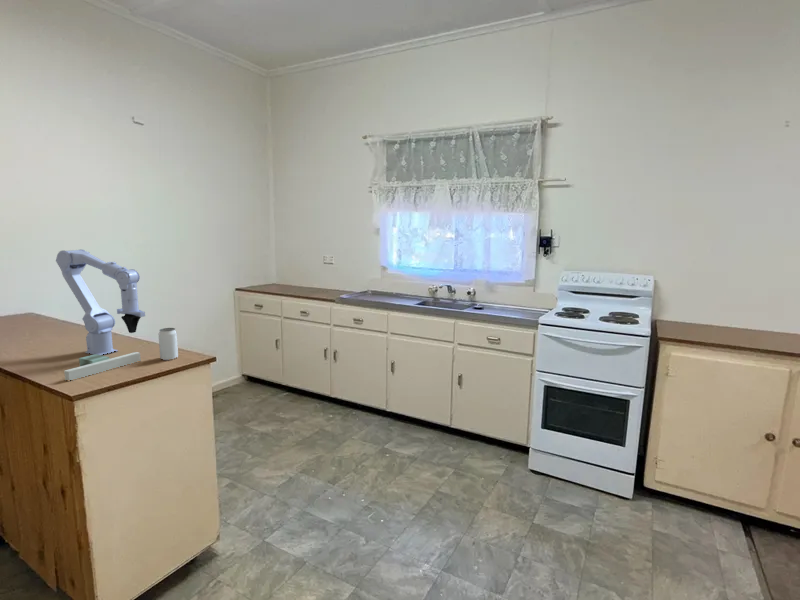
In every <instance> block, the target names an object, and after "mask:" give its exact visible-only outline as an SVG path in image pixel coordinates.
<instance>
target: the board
mask: <svg viewBox="0 0 800 600" xmlns="http://www.w3.org/2000/svg"><path fill="white" fill-rule="evenodd" d="M141 358H142V357H141V352H138V351H136V352H135V351H133V352H131V353H127V354H123V355H120V356H119V355H118V356H116V357H112V358H109V359H107V360H103V361H100V362H96V363H92V364H88V365H84V366H80V365H79V366H77V367H73V368H69V369H65V370H63V371H64V373H63V374H64V380H65V381H66V380H73V379H77V378H80V379H82V378H81V377H84V378H86V377H85V376H87V377H89V376H88V375H91V376H93V375H92V374H94V375H97V374H96V373H98V374H100V373H99V372H102V373H104V372H103V371H105V372H107V371H106V370H109V369H112V368H116V367H119V368H121V367H120V366H123V367H125V366H124V365H126V366H128V365H127V364H130V365H132V364H131V363H133V364H135V363H134V362H137V361H141V362H142V359H141ZM137 363H138V362H137ZM116 369H117V368H116ZM112 370H113V369H112ZM109 371H110V370H109ZM77 380H78V379H77ZM73 381H74V380H73Z"/></svg>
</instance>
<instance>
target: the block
mask: <svg viewBox="0 0 800 600" xmlns="http://www.w3.org/2000/svg"><path fill="white" fill-rule="evenodd" d="M107 359H110V356H107V355H98V354H90V355H87V356H83V357H79V358H78V360H79V361H78V362H79V363H78V364H79V367H80V366H84V365H88V364H92V363H96V362H100V361H103V360H107Z"/></svg>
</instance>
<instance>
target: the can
mask: <svg viewBox="0 0 800 600" xmlns="http://www.w3.org/2000/svg"><path fill="white" fill-rule="evenodd" d="M158 345H159V355H160V356H159V357H160V360H161V359H163V360H162V361H170V360H169V359H174V358H176V357H177V358H178V357H179V349H178V346H179V345H178V334H177V331H176V327H175V328H174V327H165V328H160V329H159V332H158ZM177 358H176V359H177ZM174 360H175V359H174Z"/></svg>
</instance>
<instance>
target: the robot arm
mask: <svg viewBox="0 0 800 600" xmlns="http://www.w3.org/2000/svg"><path fill="white" fill-rule="evenodd" d="M55 262H56V264H57V265H58V267H59V269H60V270H61V274H62V277H63V279H64V280H65V282H66V284H67V285H68V287H69V288H70V290H71V291H72V294H73V296H75V298H76V300H77V302H78V303H79V305H80V306H81V308H82V310H83V312H84V313H85V314H84V315H83V317H82V321H83V323H84V327H85V330H86V331H87V332H88V333H87V335H86V336H85V338H86V339H85V341H86V342H85V343H86V349H87V351H85V352H84V353H85V354H89V353H90V355H94V354H98V355H102V356H104V355H108V354H112V353H115V352H114V351H116V352H118V351H119V350H118V349H115V348H114V347H113V344H114V343H113V335H112V331H113V327H115V324H116V320H115V318H114V316H113V315H112V314H111V313H109V311H108V310H107V309H105V308H102V307H101V306H100V305H99V303H98V301H97V300H96V298H95V297H94V295H93V293H92V292H91V290H90V288H89V287H88V285H87V283H86V282H85V280H84V278H83V277H82V275H81V274H82V272H83V270H84V269H85V267H86V266H87V265H88V266H91V267H93V268H95V269H98V270H101V272H102V275H104V276H107V277H109V278H111V279H114V280H115V281H116V283H117V284H118V287H119V288H118V289H120V299H121V307H122V308H116V314H118V315H122V316H121V318H120V319H122V321H123V322H124V324H125V326H126V328H127V330H128V332H129V334H134V333H136V332H137V327H138V324H139V321H140V320H141V318H143V317H146V312H145V311H143V310H141V309H139V308H140V307H139V296H138V283H139V281H140V274H139V272H138V270H135V269H128V268H127V267H126V266H122V265H119V264H117V262H116V261H107V262H106V261H104V260H102V259H101V258H98V257H96V256H95V255H93V254H91V253H90V251H87V250H85V249H75V250H74V249H72V250H71V249H70V250H60V251H58V253H57V255H56V259H55ZM111 352H112V353H111ZM107 353H108V354H107ZM103 354H104V355H103Z"/></svg>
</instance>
